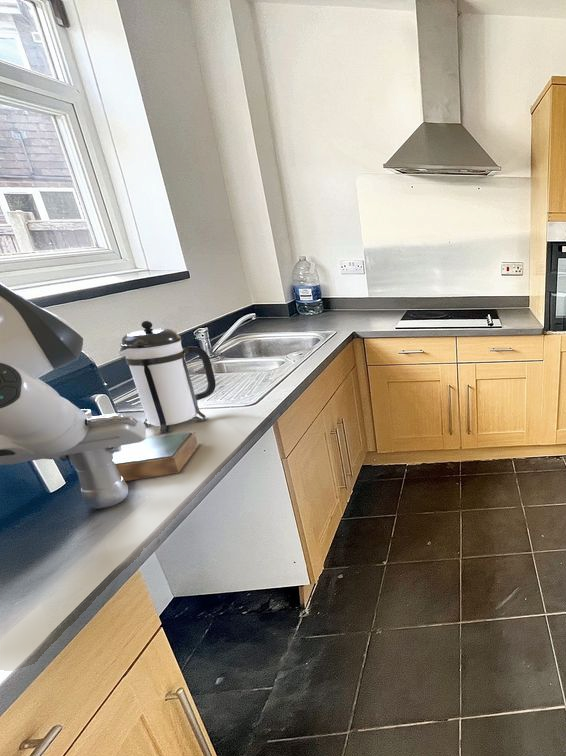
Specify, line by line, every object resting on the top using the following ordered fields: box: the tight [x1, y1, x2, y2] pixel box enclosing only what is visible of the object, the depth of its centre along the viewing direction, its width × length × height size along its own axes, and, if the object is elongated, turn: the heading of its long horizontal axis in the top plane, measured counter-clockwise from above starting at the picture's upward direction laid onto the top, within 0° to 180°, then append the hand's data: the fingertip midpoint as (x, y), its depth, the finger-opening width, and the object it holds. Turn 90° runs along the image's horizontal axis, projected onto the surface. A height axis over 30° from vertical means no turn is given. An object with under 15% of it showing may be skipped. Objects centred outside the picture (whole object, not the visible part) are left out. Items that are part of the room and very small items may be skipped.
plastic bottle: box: [68, 408, 129, 510], centre depth 81 cm, size 6×7×20 cm
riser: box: [112, 431, 199, 482], centre depth 98 cm, size 14×14×4 cm
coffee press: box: [117, 320, 217, 434], centre depth 117 cm, size 17×16×30 cm
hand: (91, 452), depth 81 cm, fingers closed on plastic bottle, 6 cm apart
